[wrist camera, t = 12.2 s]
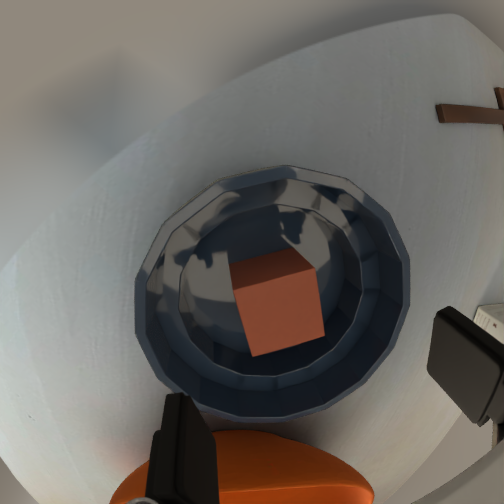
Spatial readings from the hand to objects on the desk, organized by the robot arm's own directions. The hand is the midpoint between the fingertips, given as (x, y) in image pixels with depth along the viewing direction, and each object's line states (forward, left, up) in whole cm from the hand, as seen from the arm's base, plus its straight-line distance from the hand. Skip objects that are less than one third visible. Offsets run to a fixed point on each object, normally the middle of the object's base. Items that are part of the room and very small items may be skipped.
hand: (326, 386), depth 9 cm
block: (0, 0, -11) cm, 11 cm away
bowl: (+21, -8, -12) cm, 26 cm away
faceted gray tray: (0, 0, -11) cm, 11 cm away
